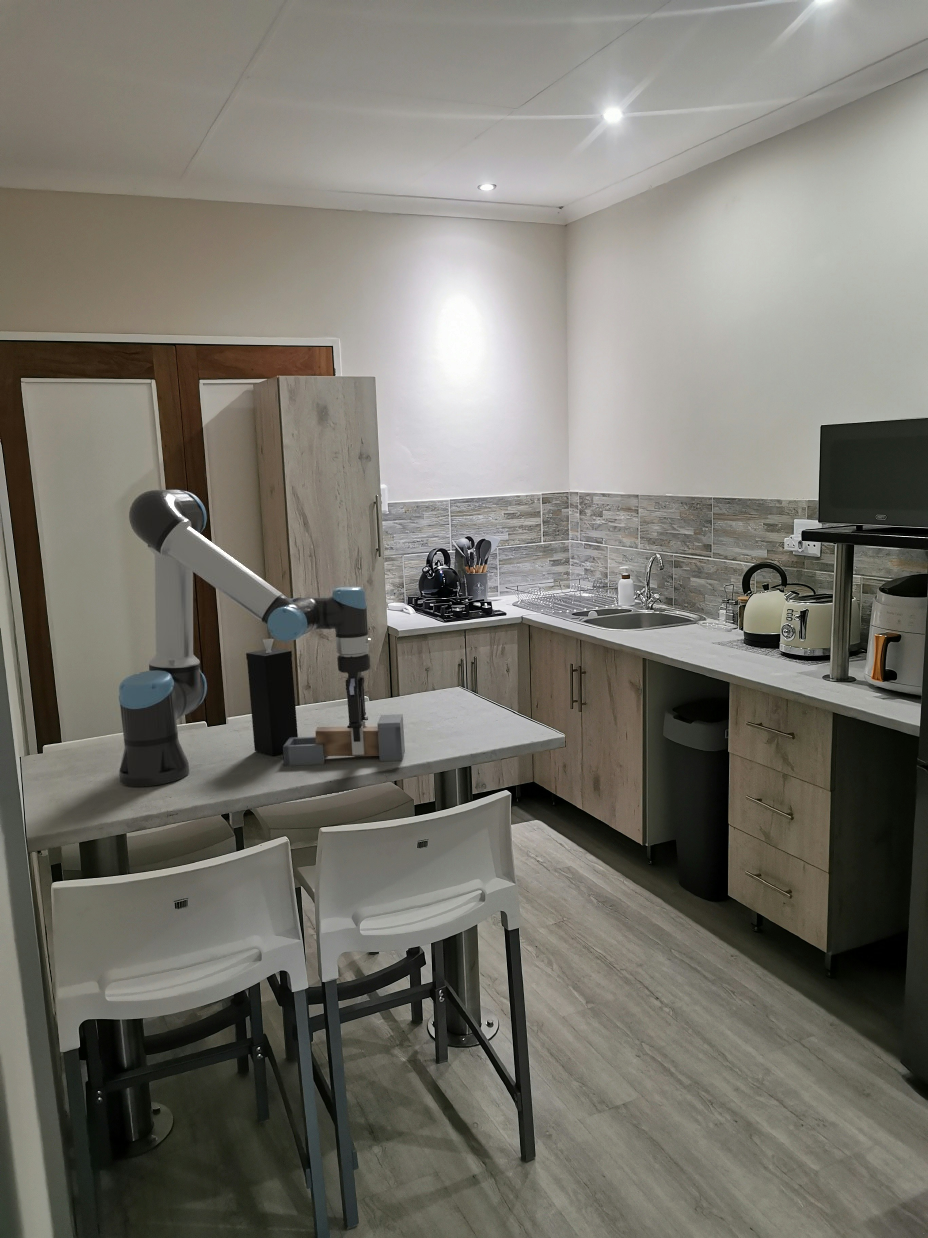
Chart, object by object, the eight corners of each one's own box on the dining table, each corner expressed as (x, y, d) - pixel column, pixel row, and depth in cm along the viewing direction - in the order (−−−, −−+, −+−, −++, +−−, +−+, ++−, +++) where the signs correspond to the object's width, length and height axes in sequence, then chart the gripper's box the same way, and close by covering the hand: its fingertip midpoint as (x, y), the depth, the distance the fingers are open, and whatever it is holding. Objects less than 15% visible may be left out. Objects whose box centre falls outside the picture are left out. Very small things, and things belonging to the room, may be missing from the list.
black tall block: (299, 749, 227) (290, 637, 223) (272, 757, 221) (263, 642, 217) (280, 744, 232) (271, 634, 228) (254, 752, 226) (244, 639, 222)
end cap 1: (284, 765, 213) (282, 747, 213) (291, 755, 221) (289, 737, 221) (323, 764, 213) (322, 745, 213) (329, 754, 221) (327, 735, 220)
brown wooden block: (315, 756, 214) (315, 731, 214) (317, 751, 218) (317, 726, 217) (393, 755, 215) (393, 730, 214) (393, 750, 219) (393, 726, 218)
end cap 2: (379, 761, 213) (377, 723, 212) (383, 751, 221) (380, 715, 220) (402, 760, 213) (399, 722, 212) (404, 750, 221) (402, 714, 219)
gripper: (365, 659, 205) (371, 761, 208) (373, 646, 222) (379, 740, 225) (331, 661, 205) (338, 762, 208) (342, 648, 222) (348, 742, 225)
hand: (359, 751), depth 217 cm, fingers closed on brown wooden block, 4 cm apart
